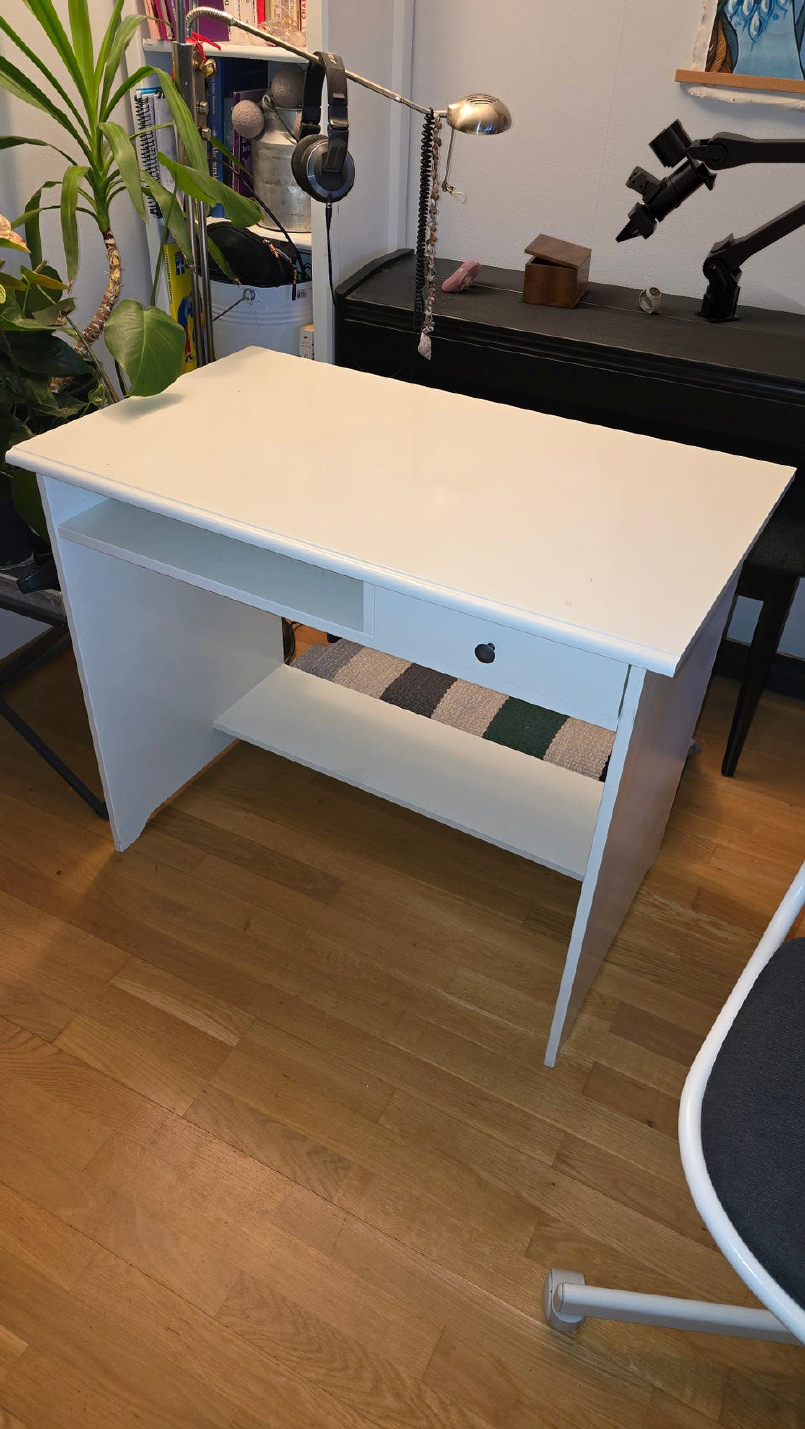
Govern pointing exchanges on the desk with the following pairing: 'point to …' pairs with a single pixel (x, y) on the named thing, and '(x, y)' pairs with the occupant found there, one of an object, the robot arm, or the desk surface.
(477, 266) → the pink rounded lump
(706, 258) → the robot arm
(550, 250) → the sorter lid
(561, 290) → the sorter box
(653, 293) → the wristwatch
